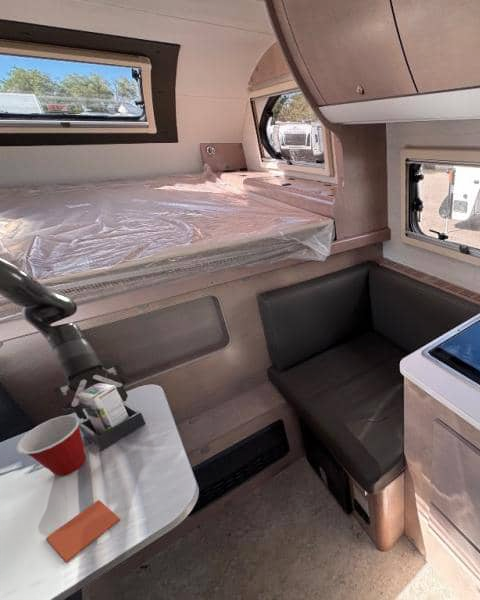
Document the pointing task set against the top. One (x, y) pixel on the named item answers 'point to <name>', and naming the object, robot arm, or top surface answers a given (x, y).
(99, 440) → the caddy
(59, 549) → the mat
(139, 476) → the top surface
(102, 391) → the syrup box
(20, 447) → the plastic cup
